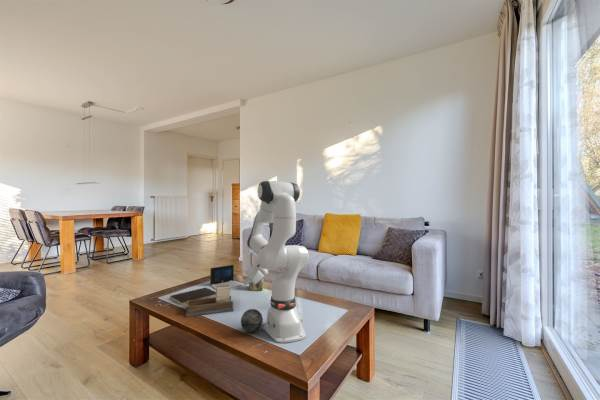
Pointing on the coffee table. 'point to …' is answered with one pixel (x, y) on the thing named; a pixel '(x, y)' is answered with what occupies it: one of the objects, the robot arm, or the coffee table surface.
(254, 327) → the decorative stone
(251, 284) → the chalk box
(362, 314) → the coffee table surface
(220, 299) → the block
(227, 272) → the laptop
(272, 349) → the coffee table surface
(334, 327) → the coffee table surface
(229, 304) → the chute
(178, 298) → the hardcover book
